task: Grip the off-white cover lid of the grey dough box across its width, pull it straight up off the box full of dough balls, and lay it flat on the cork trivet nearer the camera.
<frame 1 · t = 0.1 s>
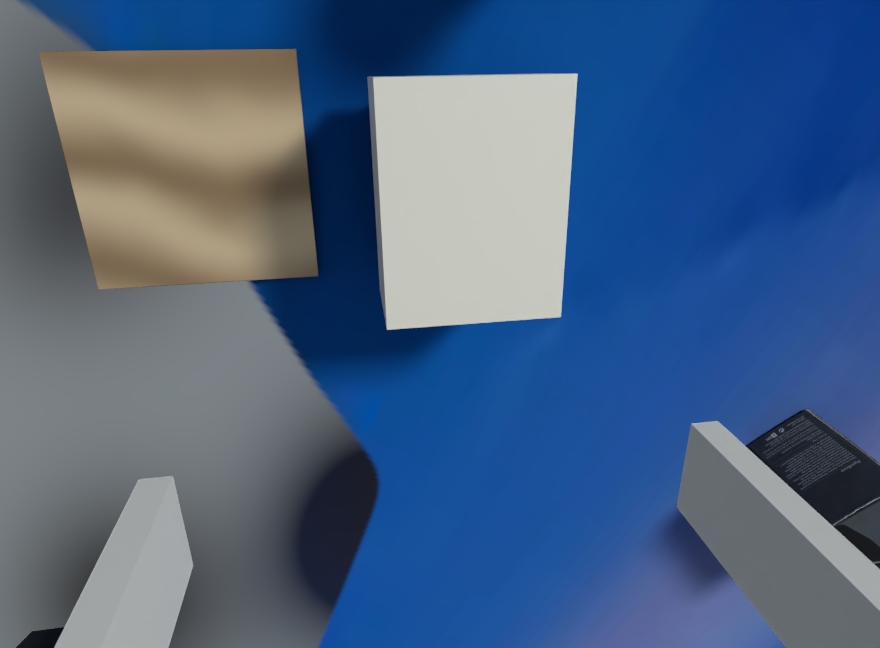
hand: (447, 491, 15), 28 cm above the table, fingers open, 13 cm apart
trivet: (194, 173, 37), on the table
box: (792, 462, 55), on the table
lid: (454, 187, 37), point 3 cm above the table, touching dough box
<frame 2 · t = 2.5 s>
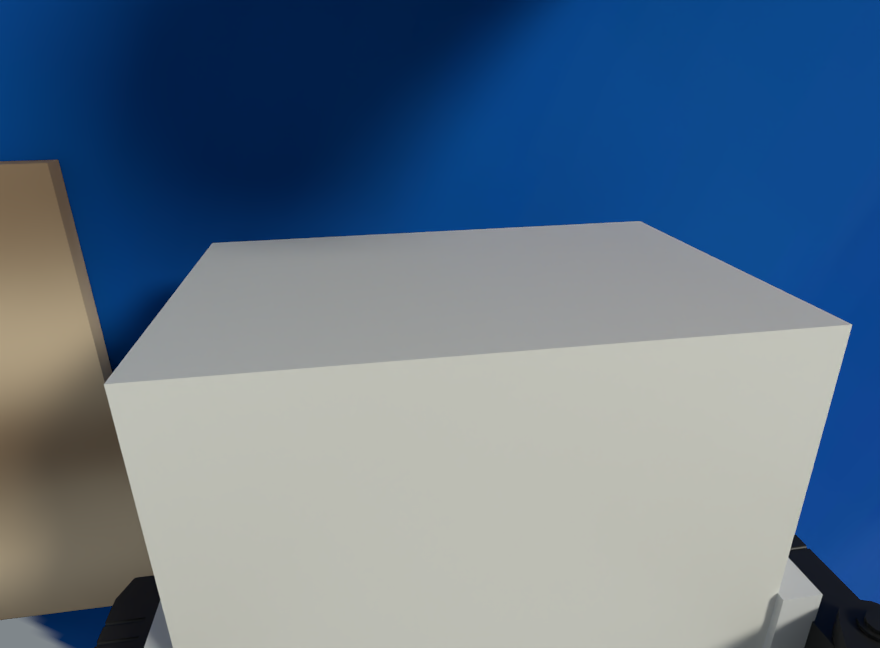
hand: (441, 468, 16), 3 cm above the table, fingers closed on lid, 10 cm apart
lid: (440, 462, 16), point 3 cm above the table, touching dough box, gripper
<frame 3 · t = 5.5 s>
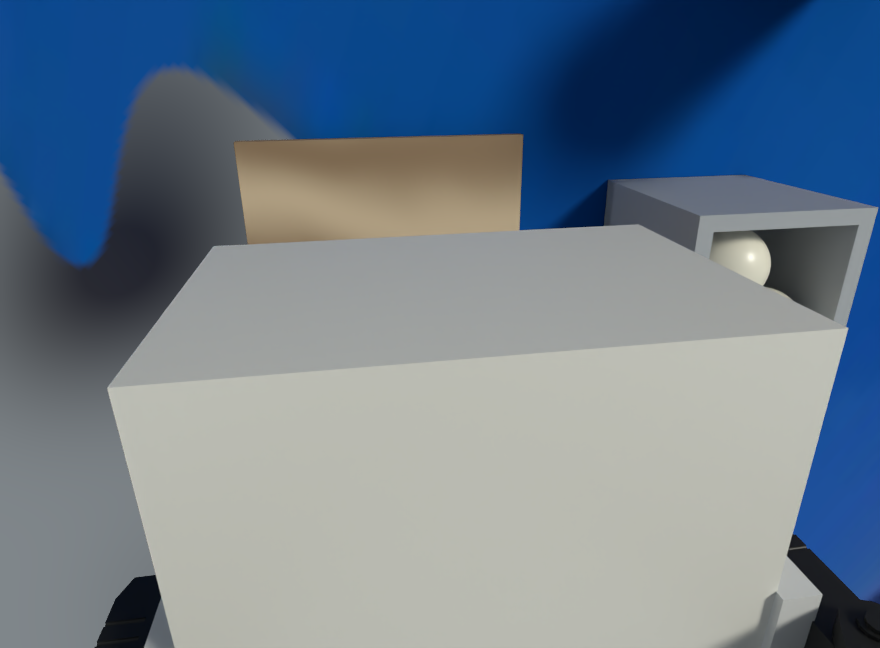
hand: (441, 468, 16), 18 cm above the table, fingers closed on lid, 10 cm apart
trivet: (388, 272, 32), on the table
dough box: (664, 273, 35), on the table
lid: (440, 464, 16), point 17 cm above the table, touching gripper
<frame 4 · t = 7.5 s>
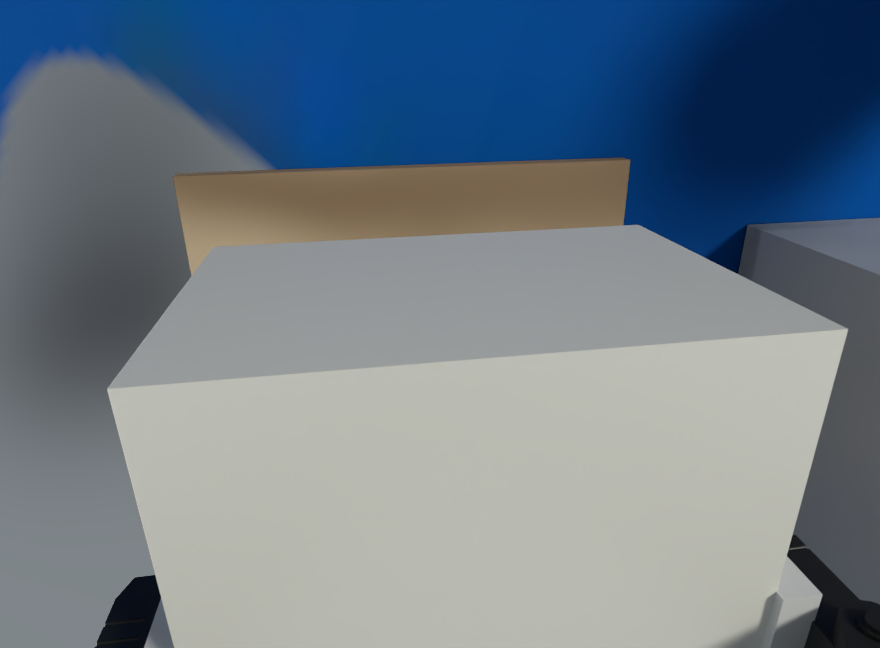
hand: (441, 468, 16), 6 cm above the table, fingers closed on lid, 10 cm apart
trivet: (417, 363, 21), on the table
dough box: (812, 354, 24), on the table
lid: (440, 465, 16), point 6 cm above the table, touching gripper
when the fingers open (2 cm above the table, at t = 8.9 s): lid drops 1 cm, resting on trivet.
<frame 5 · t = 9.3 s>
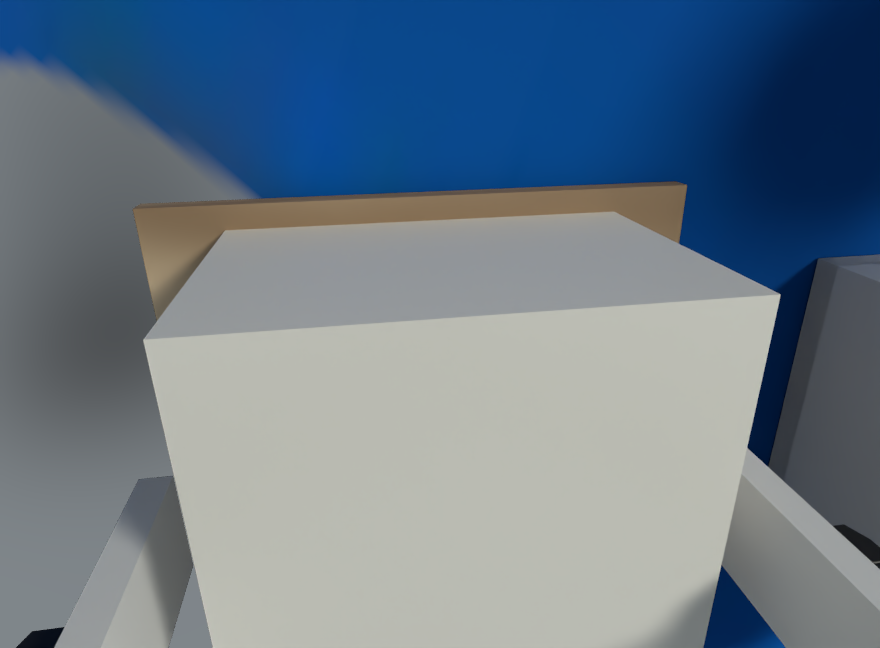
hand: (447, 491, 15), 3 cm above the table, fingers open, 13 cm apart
trivet: (429, 422, 18), on the table
lid: (432, 435, 18), point 1 cm above the table, touching trivet
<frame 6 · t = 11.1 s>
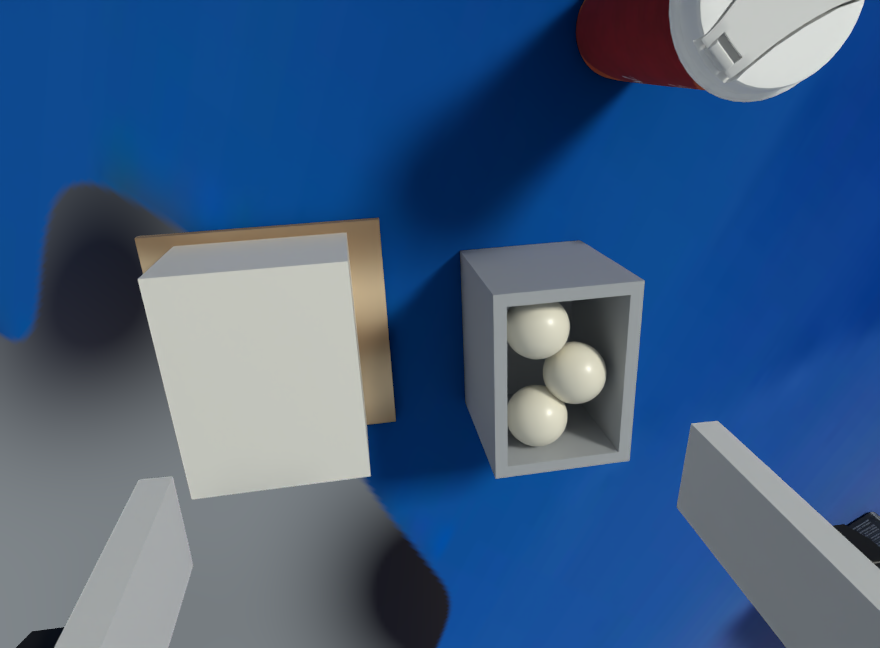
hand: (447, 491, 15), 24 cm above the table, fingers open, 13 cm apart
trivet: (278, 334, 38), on the table
box: (856, 561, 55), on the table
dough box: (520, 324, 41), on the table
paper cup: (620, 27, 35), on the table
lid: (277, 339, 38), point 1 cm above the table, touching trivet
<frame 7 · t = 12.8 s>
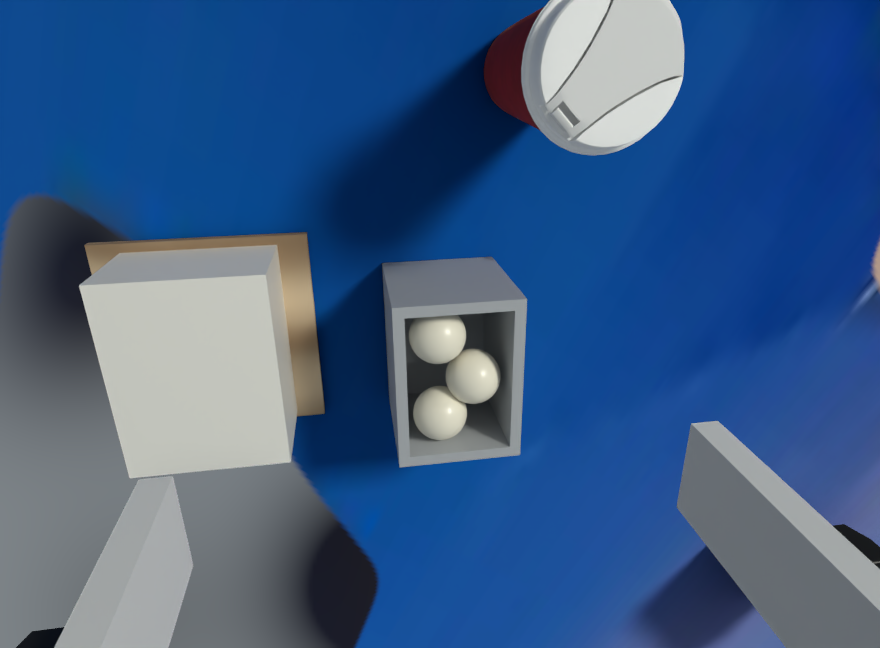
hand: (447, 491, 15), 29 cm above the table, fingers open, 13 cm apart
trivet: (216, 333, 42), on the table
dough box: (438, 330, 45), on the table
paper cup: (524, 70, 39), on the table
lid: (215, 337, 42), point 1 cm above the table, touching trivet
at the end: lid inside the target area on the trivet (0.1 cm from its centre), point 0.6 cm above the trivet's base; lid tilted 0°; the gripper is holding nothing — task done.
